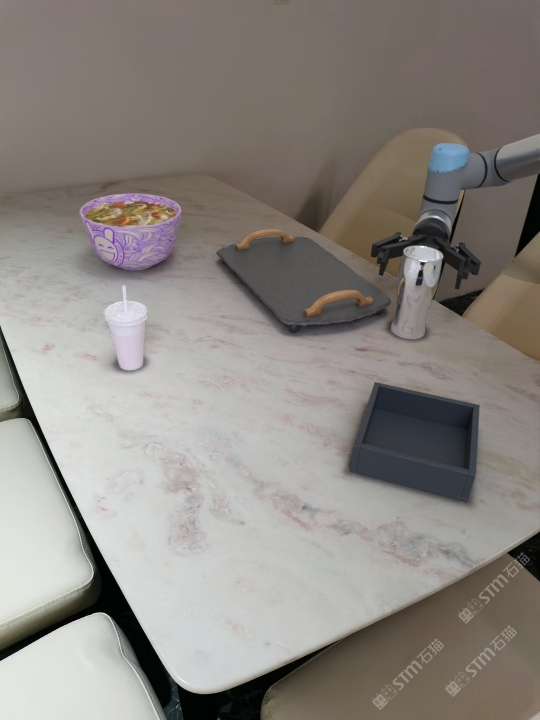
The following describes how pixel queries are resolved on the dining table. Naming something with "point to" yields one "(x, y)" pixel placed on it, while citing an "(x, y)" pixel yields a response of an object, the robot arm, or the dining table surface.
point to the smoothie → (127, 331)
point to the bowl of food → (132, 228)
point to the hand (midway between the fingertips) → (419, 275)
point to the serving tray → (301, 280)
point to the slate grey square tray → (418, 441)
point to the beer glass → (416, 290)
